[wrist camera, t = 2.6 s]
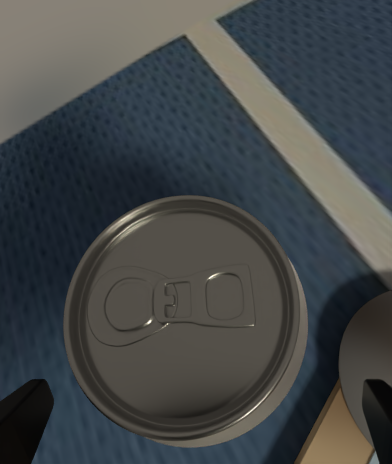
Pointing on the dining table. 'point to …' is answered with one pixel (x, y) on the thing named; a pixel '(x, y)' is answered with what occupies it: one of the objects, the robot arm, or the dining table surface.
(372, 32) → the dining table surface
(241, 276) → the can
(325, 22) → the dining table surface
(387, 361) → the subfloor panel
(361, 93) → the dining table surface
